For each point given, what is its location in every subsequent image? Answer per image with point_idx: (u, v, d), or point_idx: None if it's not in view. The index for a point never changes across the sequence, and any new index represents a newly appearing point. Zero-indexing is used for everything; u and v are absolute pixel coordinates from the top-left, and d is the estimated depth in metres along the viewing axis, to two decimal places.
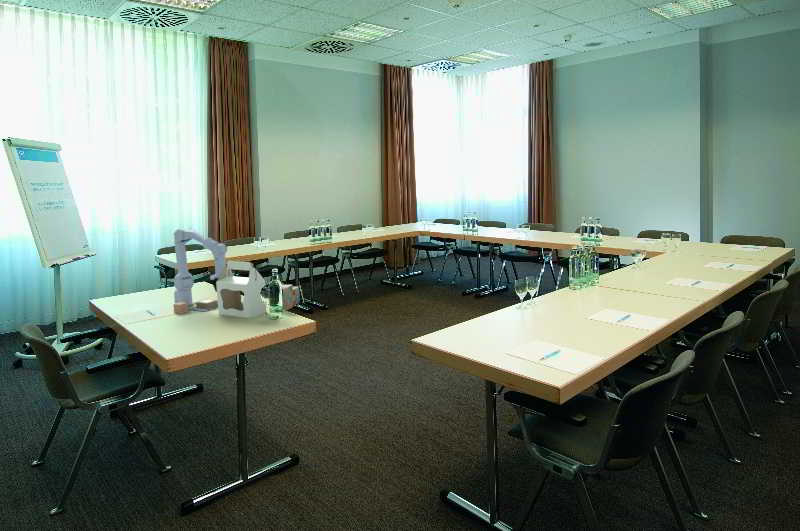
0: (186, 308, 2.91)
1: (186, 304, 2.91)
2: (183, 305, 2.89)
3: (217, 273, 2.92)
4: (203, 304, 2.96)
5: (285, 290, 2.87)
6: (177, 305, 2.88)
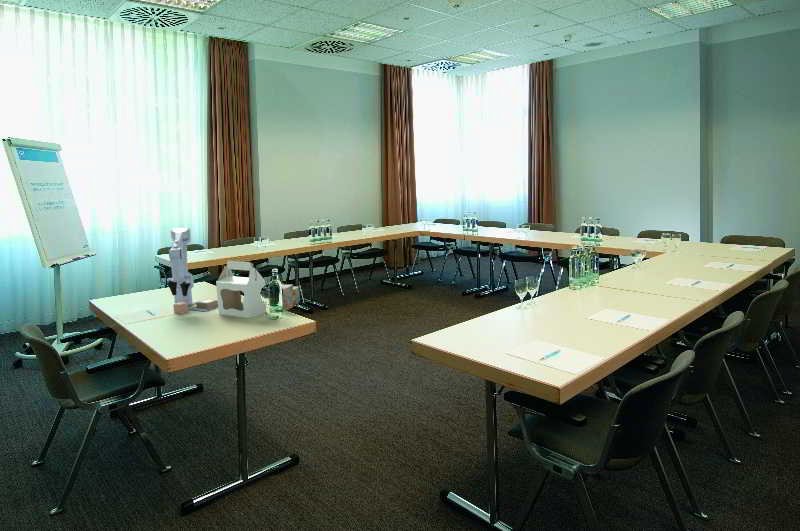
0: (186, 308, 2.91)
1: (186, 304, 2.91)
2: (183, 305, 2.89)
3: None
4: (203, 304, 2.96)
5: (285, 290, 2.88)
6: (177, 305, 2.88)
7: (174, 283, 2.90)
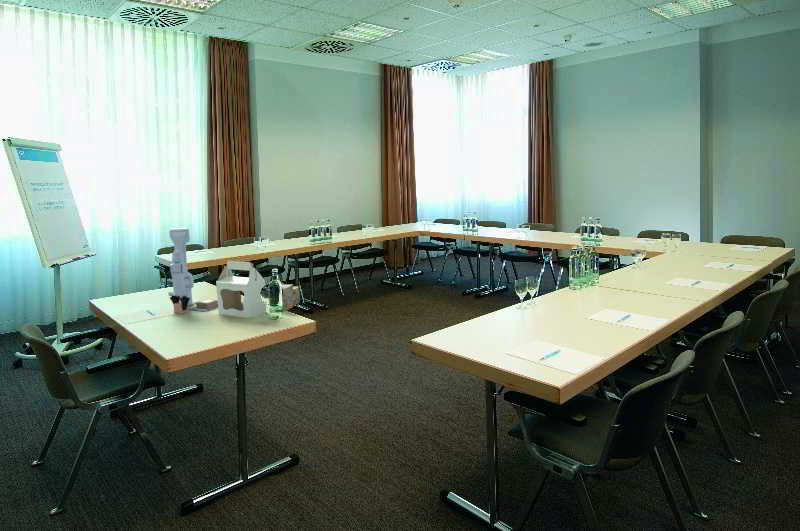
0: None
1: None
2: None
3: None
4: (203, 304, 2.96)
5: (285, 290, 2.88)
6: (177, 305, 2.88)
7: (177, 297, 2.91)
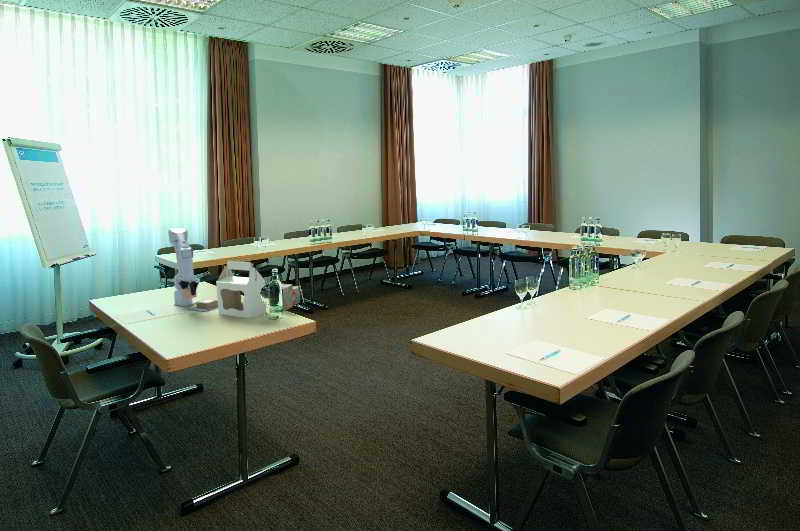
0: None
1: None
2: None
3: None
4: (203, 304, 2.96)
5: (284, 290, 2.88)
6: (186, 290, 2.90)
7: (186, 282, 2.94)
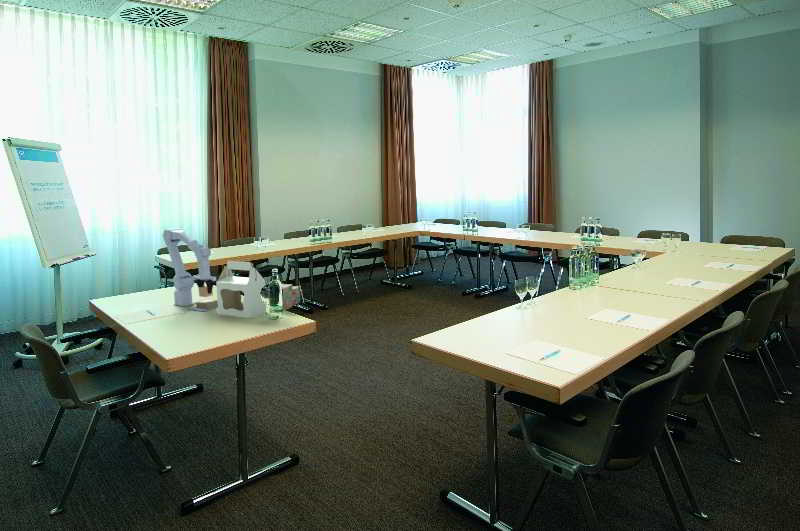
0: None
1: None
2: None
3: None
4: (203, 304, 2.96)
5: (284, 290, 2.88)
6: (202, 288, 2.96)
7: (202, 281, 2.99)
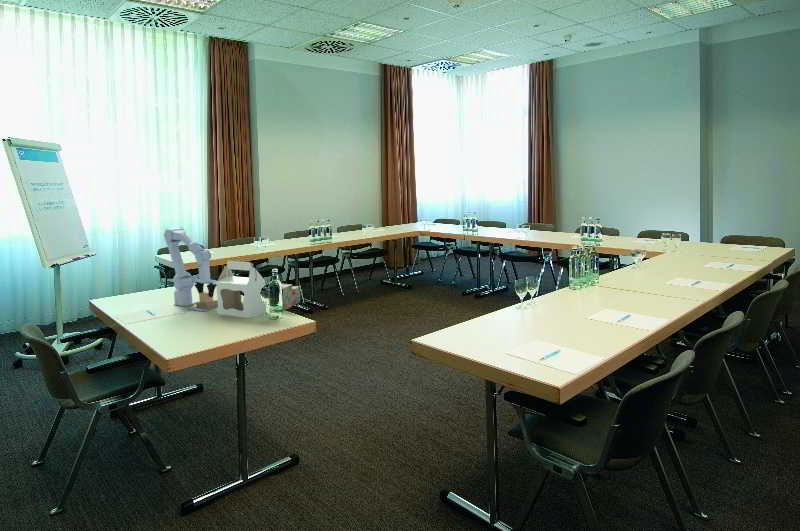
0: (211, 297, 3.00)
1: None
2: (208, 294, 2.97)
3: None
4: (203, 304, 2.96)
5: (283, 290, 2.89)
6: (203, 294, 2.96)
7: (201, 284, 3.00)
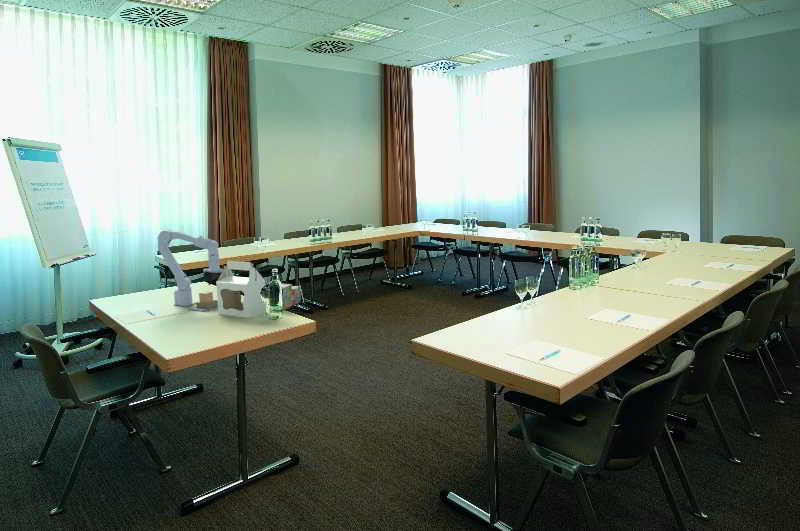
0: (211, 297, 3.00)
1: (211, 293, 2.99)
2: (208, 294, 2.97)
3: None
4: (203, 304, 2.96)
5: None
6: (203, 294, 2.96)
7: (210, 273, 3.12)
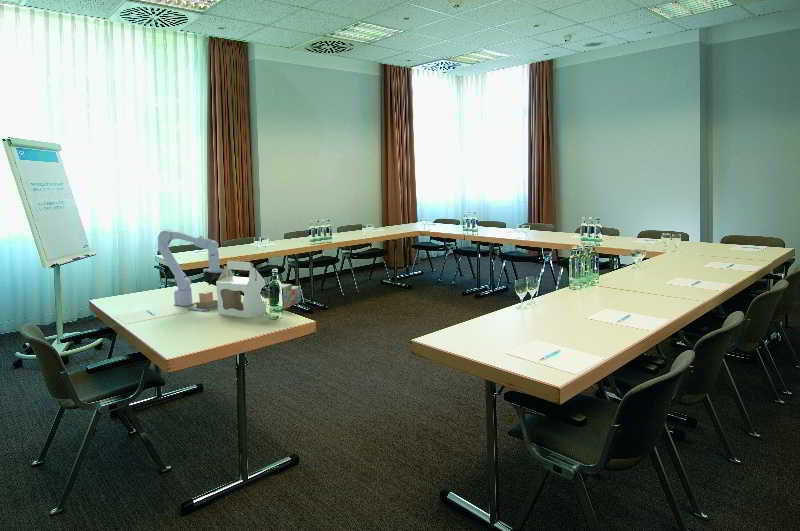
0: (211, 297, 3.00)
1: (211, 293, 2.99)
2: (208, 294, 2.97)
3: None
4: (203, 304, 2.96)
5: None
6: (203, 294, 2.96)
7: (210, 273, 3.12)
